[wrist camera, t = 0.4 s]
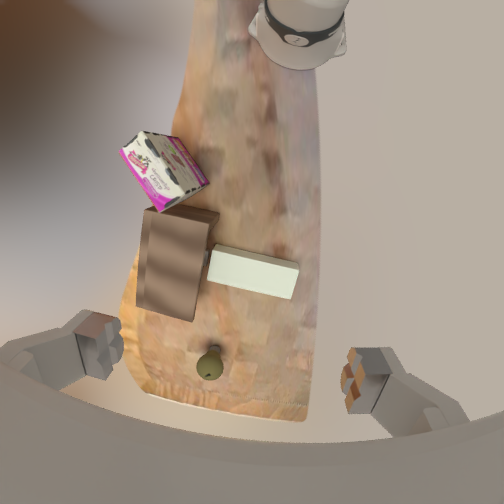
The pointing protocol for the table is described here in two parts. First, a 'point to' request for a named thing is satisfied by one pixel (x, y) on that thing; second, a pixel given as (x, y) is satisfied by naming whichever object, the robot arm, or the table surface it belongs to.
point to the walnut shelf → (173, 259)
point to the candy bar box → (163, 168)
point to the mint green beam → (252, 271)
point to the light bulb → (210, 364)
